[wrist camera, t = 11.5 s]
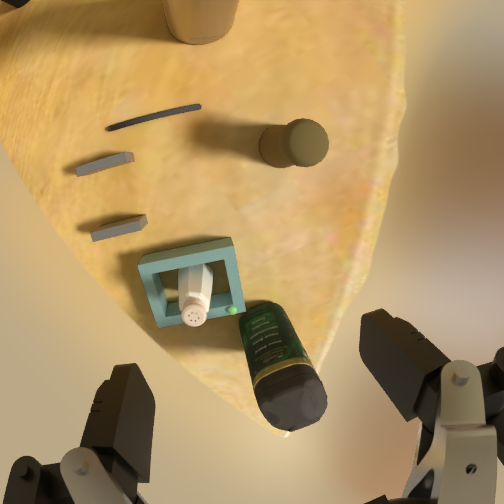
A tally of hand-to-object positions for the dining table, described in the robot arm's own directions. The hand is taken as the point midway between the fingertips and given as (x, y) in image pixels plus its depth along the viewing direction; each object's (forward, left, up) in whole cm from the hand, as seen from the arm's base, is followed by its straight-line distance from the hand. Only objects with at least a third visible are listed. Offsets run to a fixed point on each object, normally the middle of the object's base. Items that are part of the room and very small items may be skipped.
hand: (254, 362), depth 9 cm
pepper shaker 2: (-7, +10, -30) cm, 33 cm away
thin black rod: (-14, -6, -30) cm, 34 cm away
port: (+9, -5, -30) cm, 32 cm away
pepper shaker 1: (+9, -5, -30) cm, 32 cm away
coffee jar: (+20, +4, -30) cm, 37 cm away
